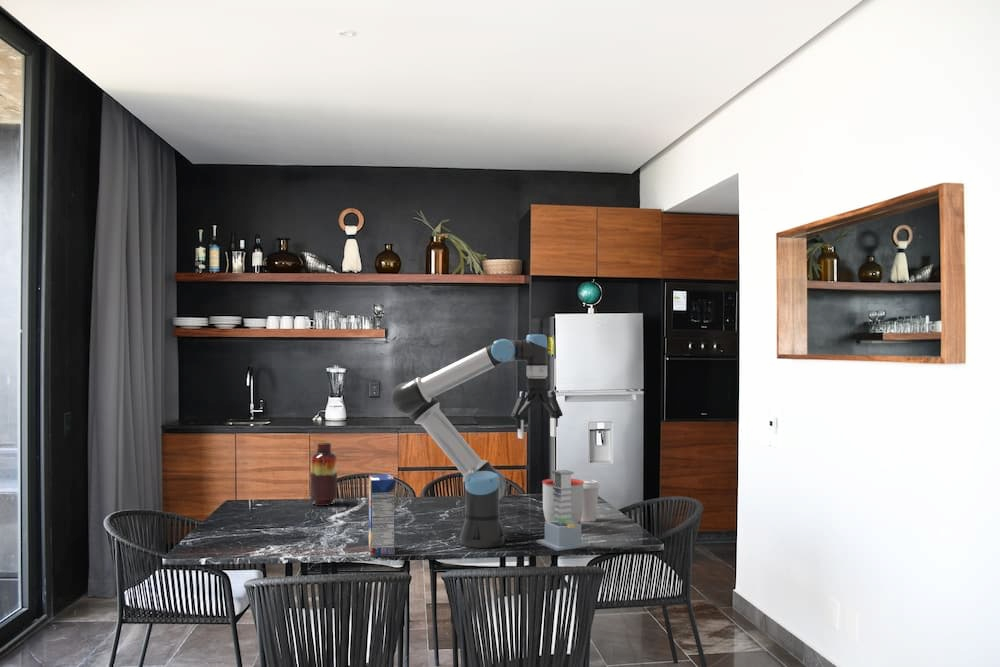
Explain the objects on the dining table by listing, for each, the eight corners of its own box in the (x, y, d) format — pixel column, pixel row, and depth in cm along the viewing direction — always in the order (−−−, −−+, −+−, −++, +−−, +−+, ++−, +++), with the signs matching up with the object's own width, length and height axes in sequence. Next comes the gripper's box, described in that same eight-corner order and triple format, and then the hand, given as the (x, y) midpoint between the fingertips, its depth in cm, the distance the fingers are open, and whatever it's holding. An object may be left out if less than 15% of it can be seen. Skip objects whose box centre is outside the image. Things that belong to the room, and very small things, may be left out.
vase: (328, 500, 340) (328, 441, 340) (341, 504, 331) (342, 443, 332) (305, 503, 332) (306, 443, 333) (318, 507, 324) (319, 445, 325)
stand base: (557, 550, 252) (557, 526, 252) (536, 542, 263) (536, 519, 264) (589, 546, 258) (589, 522, 258) (568, 538, 270) (568, 515, 270)
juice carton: (368, 547, 257) (368, 474, 257) (391, 545, 258) (391, 474, 259) (371, 556, 245) (371, 480, 246) (394, 554, 247) (394, 479, 248)
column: (560, 526, 257) (560, 472, 258) (552, 523, 262) (552, 470, 263) (573, 524, 260) (573, 471, 260) (565, 521, 265) (564, 469, 265)
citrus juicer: (576, 520, 298) (576, 469, 299) (589, 530, 281) (589, 475, 282) (536, 522, 295) (536, 469, 296) (547, 532, 278) (547, 476, 279)
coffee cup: (599, 523, 294) (598, 483, 295) (574, 522, 296) (573, 482, 296) (600, 517, 303) (600, 479, 304) (576, 516, 305) (576, 478, 306)
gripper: (511, 378, 266) (511, 440, 265) (572, 377, 278) (572, 436, 277) (501, 377, 272) (501, 438, 272) (560, 377, 284) (560, 434, 284)
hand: (537, 437), depth 274 cm, fingers open, 13 cm apart
